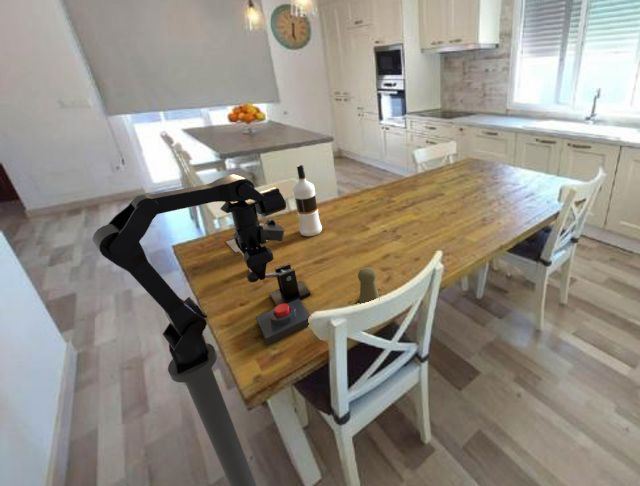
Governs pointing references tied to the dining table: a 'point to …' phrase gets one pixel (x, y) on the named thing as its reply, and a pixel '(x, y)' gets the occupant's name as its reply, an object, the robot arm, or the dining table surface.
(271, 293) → the switch bracket
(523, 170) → the dining table surface
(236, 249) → the platform
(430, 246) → the dining table surface
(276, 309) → the switch button
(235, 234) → the robot arm
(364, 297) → the grey brown pawn
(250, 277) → the switch lever
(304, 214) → the vodka
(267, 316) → the switch block
